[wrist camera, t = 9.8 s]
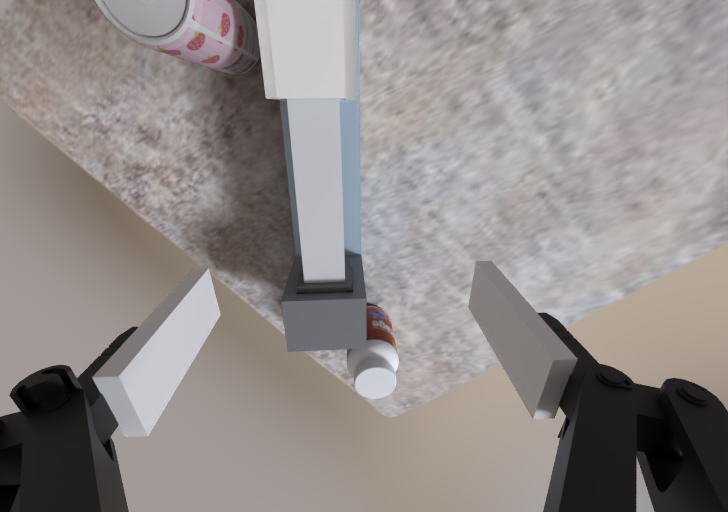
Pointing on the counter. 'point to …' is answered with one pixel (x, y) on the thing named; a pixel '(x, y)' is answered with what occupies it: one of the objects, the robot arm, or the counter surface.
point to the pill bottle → (375, 357)
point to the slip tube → (319, 195)
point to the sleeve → (307, 48)
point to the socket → (325, 314)
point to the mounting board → (349, 164)
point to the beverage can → (190, 30)
